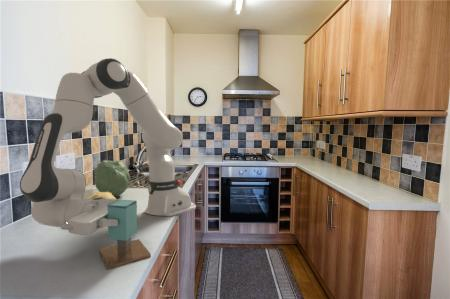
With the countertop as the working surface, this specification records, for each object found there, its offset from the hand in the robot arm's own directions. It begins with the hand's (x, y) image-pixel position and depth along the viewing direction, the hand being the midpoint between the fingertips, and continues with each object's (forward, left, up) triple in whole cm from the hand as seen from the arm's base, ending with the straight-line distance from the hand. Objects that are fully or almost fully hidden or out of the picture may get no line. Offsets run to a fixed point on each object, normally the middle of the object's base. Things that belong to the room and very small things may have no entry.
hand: (125, 217), depth 75 cm
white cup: (+4, -53, -12) cm, 54 cm away
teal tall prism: (+1, -1, -5) cm, 6 cm away
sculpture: (0, -38, -12) cm, 39 cm away
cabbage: (-10, -68, -12) cm, 69 cm away
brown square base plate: (0, -1, -11) cm, 11 cm away
